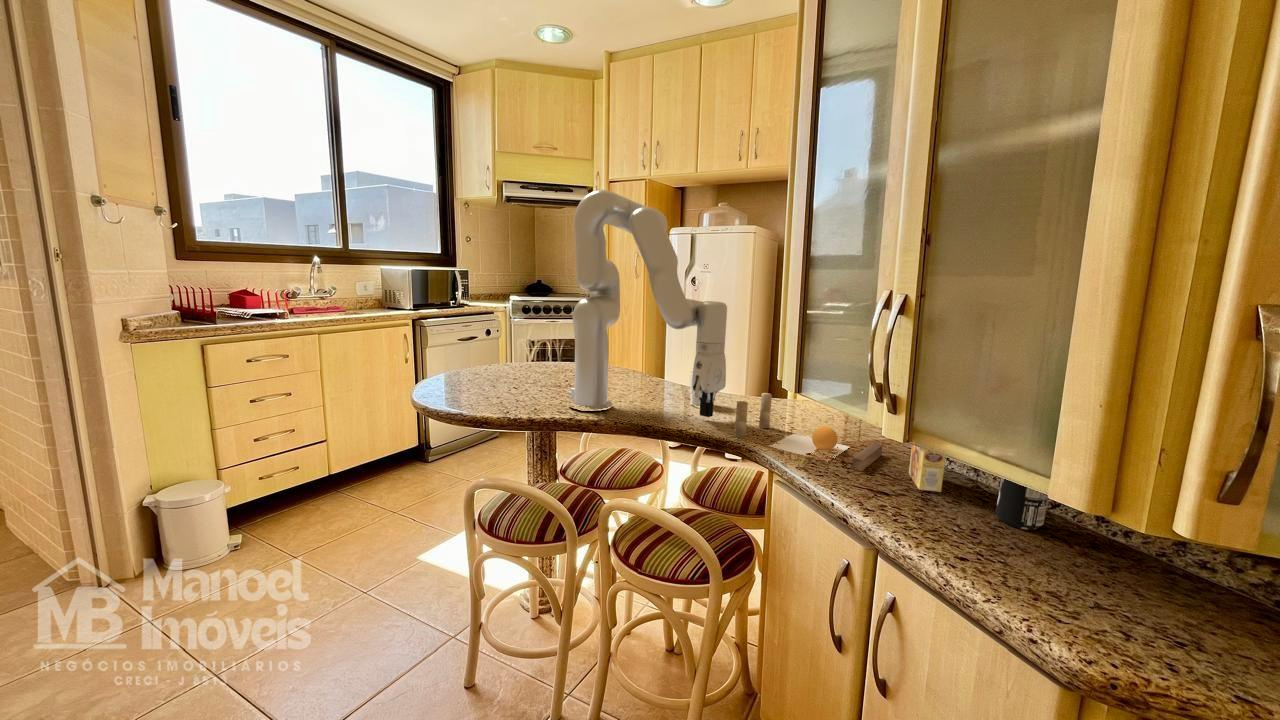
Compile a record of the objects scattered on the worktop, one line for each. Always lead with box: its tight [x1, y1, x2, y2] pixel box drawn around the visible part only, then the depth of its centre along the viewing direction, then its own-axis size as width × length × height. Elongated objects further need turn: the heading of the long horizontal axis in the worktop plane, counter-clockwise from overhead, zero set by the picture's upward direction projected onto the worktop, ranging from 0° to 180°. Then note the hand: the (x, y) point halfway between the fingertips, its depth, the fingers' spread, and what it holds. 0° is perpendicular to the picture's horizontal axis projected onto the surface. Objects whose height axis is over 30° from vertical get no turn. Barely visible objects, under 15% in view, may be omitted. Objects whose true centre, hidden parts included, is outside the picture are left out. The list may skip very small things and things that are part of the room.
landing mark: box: [769, 432, 851, 463], centre depth 122 cm, size 14×14×1 cm
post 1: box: [734, 400, 749, 440], centre depth 126 cm, size 3×3×9 cm
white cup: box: [689, 370, 713, 406], centre depth 156 cm, size 8×8×10 cm
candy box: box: [908, 444, 947, 493], centre depth 102 cm, size 9×4×15 cm, turn 166°
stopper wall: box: [851, 442, 884, 472], centre depth 114 cm, size 2×14×2 cm, turn 140°
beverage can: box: [995, 477, 1049, 531], centre depth 87 cm, size 7×7×12 cm
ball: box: [811, 425, 838, 451], centre depth 120 cm, size 6×6×6 cm
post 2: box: [758, 392, 773, 429], centre depth 136 cm, size 3×3×9 cm
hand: (706, 415), depth 140 cm, fingers closed
